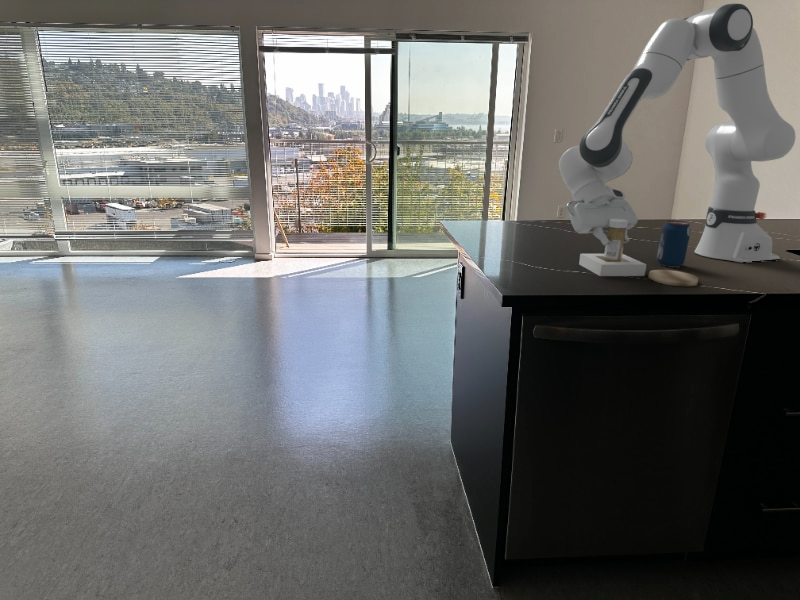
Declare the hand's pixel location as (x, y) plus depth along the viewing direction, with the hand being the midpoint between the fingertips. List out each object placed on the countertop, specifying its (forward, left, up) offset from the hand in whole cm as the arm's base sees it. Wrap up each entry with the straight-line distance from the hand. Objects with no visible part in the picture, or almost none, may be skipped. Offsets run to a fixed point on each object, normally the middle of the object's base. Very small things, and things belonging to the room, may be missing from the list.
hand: (616, 243), depth 132 cm
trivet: (-11, +9, -7) cm, 16 cm away
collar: (0, -1, -7) cm, 7 cm away
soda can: (-20, -6, -8) cm, 22 cm away
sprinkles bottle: (0, -1, -8) cm, 8 cm away
